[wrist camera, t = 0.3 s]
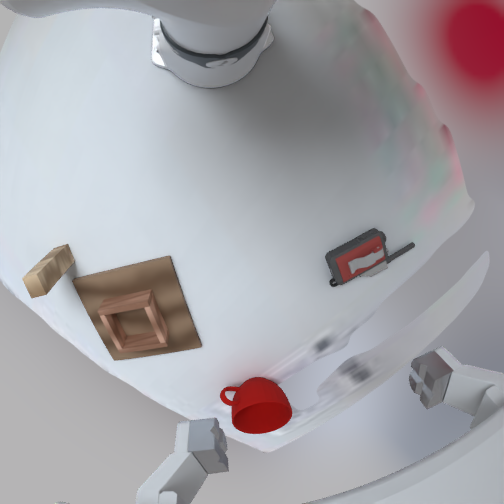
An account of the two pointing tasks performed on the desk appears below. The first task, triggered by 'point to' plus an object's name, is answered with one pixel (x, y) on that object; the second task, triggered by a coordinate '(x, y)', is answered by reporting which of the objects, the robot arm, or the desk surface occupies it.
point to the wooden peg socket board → (139, 309)
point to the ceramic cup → (258, 406)
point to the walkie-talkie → (361, 257)
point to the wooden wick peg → (48, 271)
